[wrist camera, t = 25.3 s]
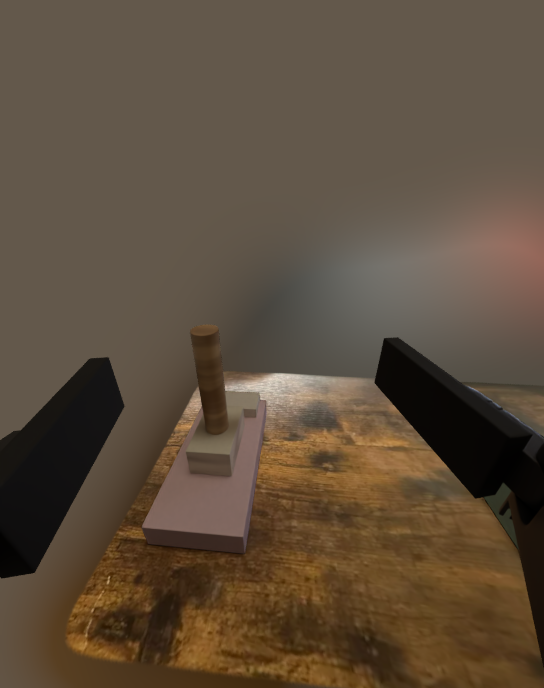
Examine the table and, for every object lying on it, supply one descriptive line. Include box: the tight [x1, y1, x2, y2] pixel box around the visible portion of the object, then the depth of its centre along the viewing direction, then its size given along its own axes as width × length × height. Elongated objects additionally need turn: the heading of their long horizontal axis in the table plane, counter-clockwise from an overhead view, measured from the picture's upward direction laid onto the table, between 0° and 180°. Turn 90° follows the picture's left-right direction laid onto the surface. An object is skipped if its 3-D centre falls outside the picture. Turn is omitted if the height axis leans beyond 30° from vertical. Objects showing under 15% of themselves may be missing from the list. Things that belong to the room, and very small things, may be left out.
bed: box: [142, 391, 266, 554], centre depth 34 cm, size 20×10×5 cm, turn 175°
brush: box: [186, 325, 245, 476], centre depth 30 cm, size 8×5×17 cm, turn 175°
